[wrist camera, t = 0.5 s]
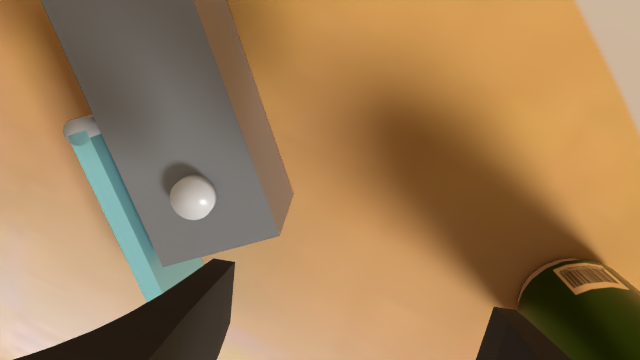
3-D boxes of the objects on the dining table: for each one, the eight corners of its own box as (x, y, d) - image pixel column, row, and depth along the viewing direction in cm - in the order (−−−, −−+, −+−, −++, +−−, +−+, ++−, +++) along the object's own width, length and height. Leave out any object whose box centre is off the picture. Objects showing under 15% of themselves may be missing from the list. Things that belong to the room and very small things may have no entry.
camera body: (100, -24, 19) (5, -51, 14) (204, -64, 18) (147, -108, 13) (201, 219, 22) (156, 274, 17) (293, 193, 22) (277, 242, 16)
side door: (110, 110, 20) (51, 126, 16) (136, 101, 20) (82, 116, 16) (203, 316, 23) (173, 375, 19) (225, 311, 23) (200, 368, 19)
